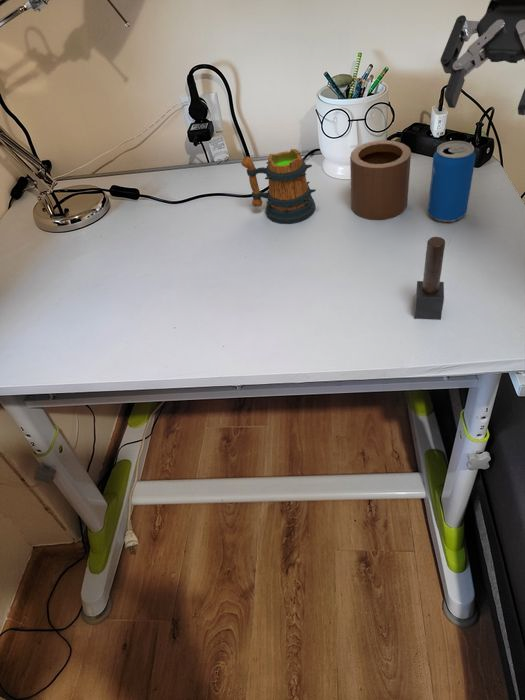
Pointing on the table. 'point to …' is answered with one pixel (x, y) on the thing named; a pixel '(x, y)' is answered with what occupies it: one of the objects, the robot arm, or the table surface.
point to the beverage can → (451, 180)
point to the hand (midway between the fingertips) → (484, 108)
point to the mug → (283, 187)
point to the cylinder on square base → (431, 282)
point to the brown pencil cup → (380, 179)
